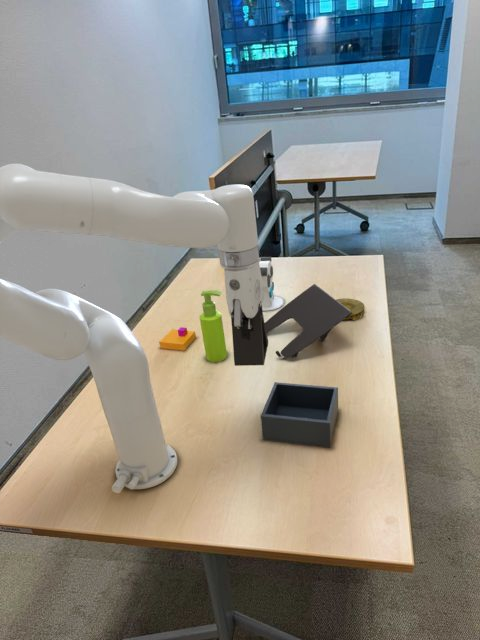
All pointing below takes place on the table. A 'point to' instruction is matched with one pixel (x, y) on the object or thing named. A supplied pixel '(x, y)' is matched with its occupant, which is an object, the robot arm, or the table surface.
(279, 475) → the table surface
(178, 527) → the table surface
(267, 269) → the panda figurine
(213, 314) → the soap dispenser
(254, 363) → the phone stand
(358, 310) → the compass
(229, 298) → the robot arm
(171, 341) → the orange tile with knob
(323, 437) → the tote
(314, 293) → the laptop tray
